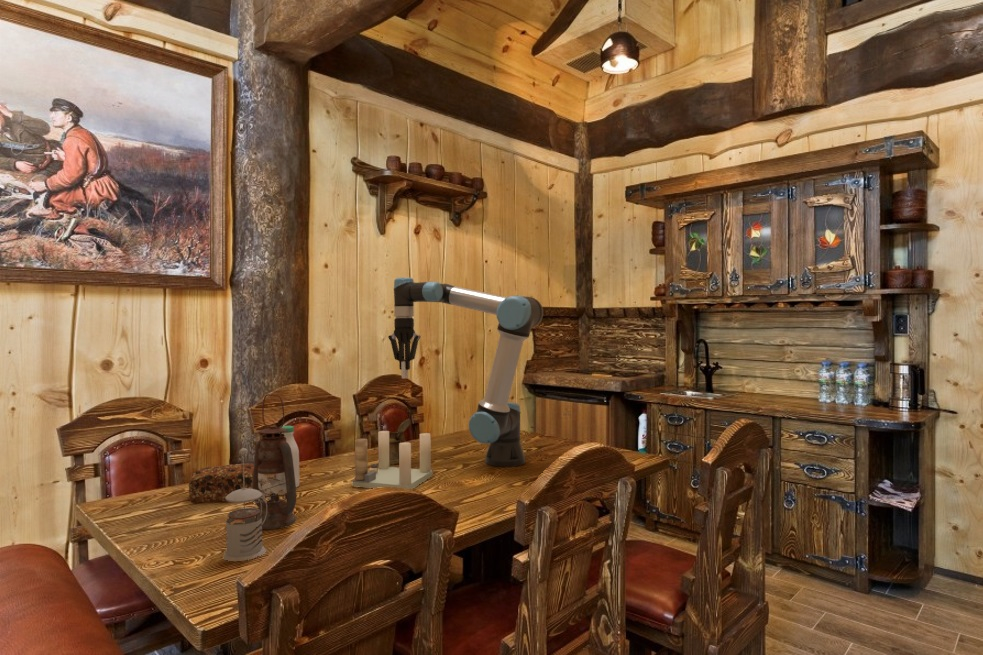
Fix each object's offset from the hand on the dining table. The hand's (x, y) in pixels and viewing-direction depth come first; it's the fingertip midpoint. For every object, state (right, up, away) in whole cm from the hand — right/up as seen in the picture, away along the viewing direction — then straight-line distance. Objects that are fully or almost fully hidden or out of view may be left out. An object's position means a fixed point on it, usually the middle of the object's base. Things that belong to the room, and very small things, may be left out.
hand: (404, 378), depth 230 cm
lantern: (-25, -34, -69) cm, 81 cm away
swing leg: (-8, -30, -30) cm, 44 cm away
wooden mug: (-3, -33, -4) cm, 33 cm away
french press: (-24, -34, -89) cm, 98 cm away
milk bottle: (-34, -33, -35) cm, 59 cm away
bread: (-49, -34, -46) cm, 75 cm away
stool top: (+1, -33, -29) cm, 44 cm away
